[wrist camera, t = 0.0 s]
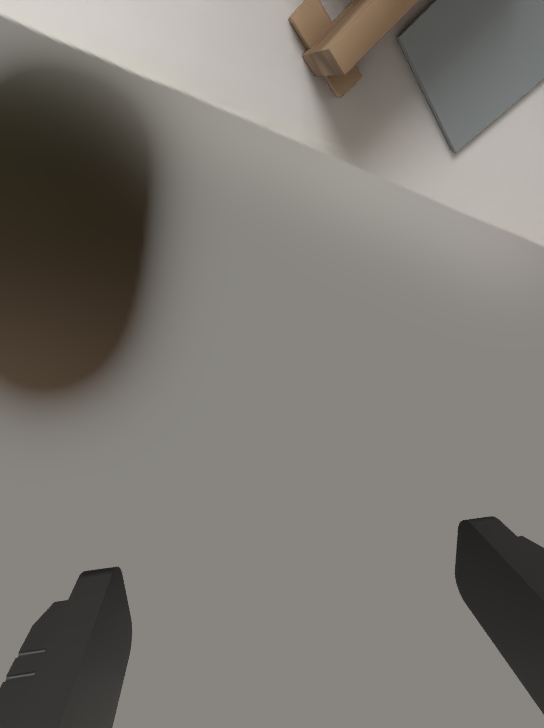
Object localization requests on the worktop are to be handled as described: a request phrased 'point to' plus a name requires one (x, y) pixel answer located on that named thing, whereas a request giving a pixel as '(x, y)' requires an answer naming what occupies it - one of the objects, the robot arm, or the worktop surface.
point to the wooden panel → (344, 36)
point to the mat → (475, 60)
